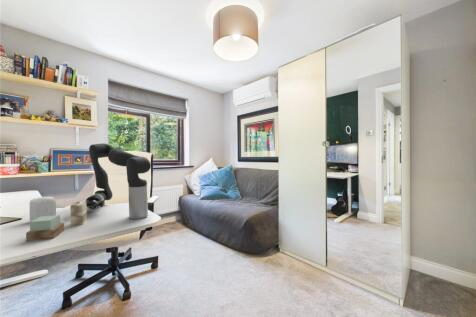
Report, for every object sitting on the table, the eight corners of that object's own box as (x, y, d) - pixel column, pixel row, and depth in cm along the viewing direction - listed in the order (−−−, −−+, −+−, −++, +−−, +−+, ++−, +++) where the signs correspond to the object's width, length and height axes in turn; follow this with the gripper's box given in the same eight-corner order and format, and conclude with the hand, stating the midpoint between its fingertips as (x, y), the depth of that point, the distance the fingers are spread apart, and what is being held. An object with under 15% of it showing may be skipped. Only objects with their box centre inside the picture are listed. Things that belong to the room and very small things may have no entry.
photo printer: (57, 217, 112) (56, 195, 112) (55, 219, 109) (54, 196, 108) (31, 220, 107) (30, 197, 106) (28, 223, 103) (27, 199, 103)
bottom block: (64, 231, 94) (64, 222, 94) (53, 239, 85) (53, 229, 85) (39, 233, 91) (39, 225, 91) (26, 242, 82) (26, 232, 82)
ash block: (86, 221, 106) (86, 202, 106) (83, 224, 101) (82, 204, 101) (75, 222, 104) (74, 203, 104) (70, 225, 100) (70, 205, 99)
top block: (59, 223, 92) (59, 215, 92) (50, 229, 86) (50, 220, 85) (40, 225, 90) (40, 216, 90) (30, 231, 84) (29, 221, 83)
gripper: (81, 195, 122) (68, 202, 107) (108, 194, 127) (99, 199, 112) (81, 207, 123) (68, 216, 107) (108, 205, 127) (100, 213, 112)
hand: (84, 207), depth 110 cm, fingers open, 8 cm apart
